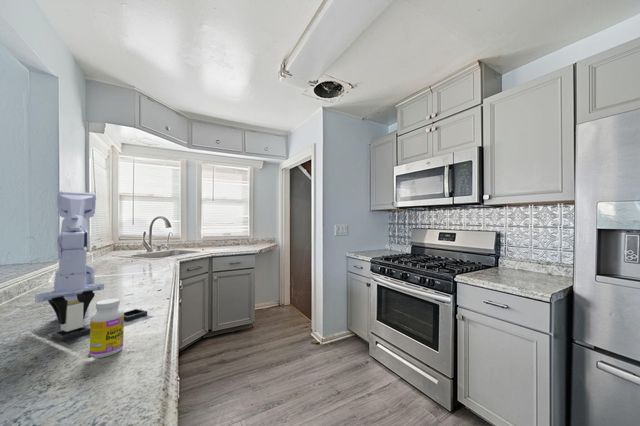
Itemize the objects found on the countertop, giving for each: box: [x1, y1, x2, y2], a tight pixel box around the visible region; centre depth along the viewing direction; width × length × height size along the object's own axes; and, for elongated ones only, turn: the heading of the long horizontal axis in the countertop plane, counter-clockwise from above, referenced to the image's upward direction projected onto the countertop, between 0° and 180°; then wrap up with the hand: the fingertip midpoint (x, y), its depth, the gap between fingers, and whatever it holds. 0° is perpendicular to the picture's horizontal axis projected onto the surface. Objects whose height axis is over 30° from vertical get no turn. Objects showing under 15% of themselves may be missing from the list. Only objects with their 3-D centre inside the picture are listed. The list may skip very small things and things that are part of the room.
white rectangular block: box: [60, 300, 84, 332], centre depth 74 cm, size 4×4×8 cm
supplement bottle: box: [89, 298, 125, 359], centre depth 66 cm, size 7×7×13 cm
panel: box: [46, 308, 155, 346], centre depth 81 cm, size 14×22×2 cm, turn 154°
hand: (71, 320), depth 74 cm, fingers closed on white rectangular block, 4 cm apart
